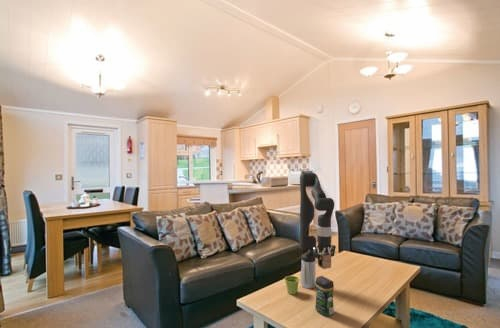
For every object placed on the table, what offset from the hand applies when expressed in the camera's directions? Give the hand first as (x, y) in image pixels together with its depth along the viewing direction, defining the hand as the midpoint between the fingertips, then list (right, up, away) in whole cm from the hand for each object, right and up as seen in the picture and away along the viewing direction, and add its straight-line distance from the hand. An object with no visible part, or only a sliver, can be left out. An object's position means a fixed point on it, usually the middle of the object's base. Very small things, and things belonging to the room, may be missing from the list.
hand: (324, 264), depth 149 cm
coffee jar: (0, -26, 0) cm, 26 cm away
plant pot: (-14, -26, +22) cm, 37 cm away
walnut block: (0, -1, 0) cm, 1 cm away
